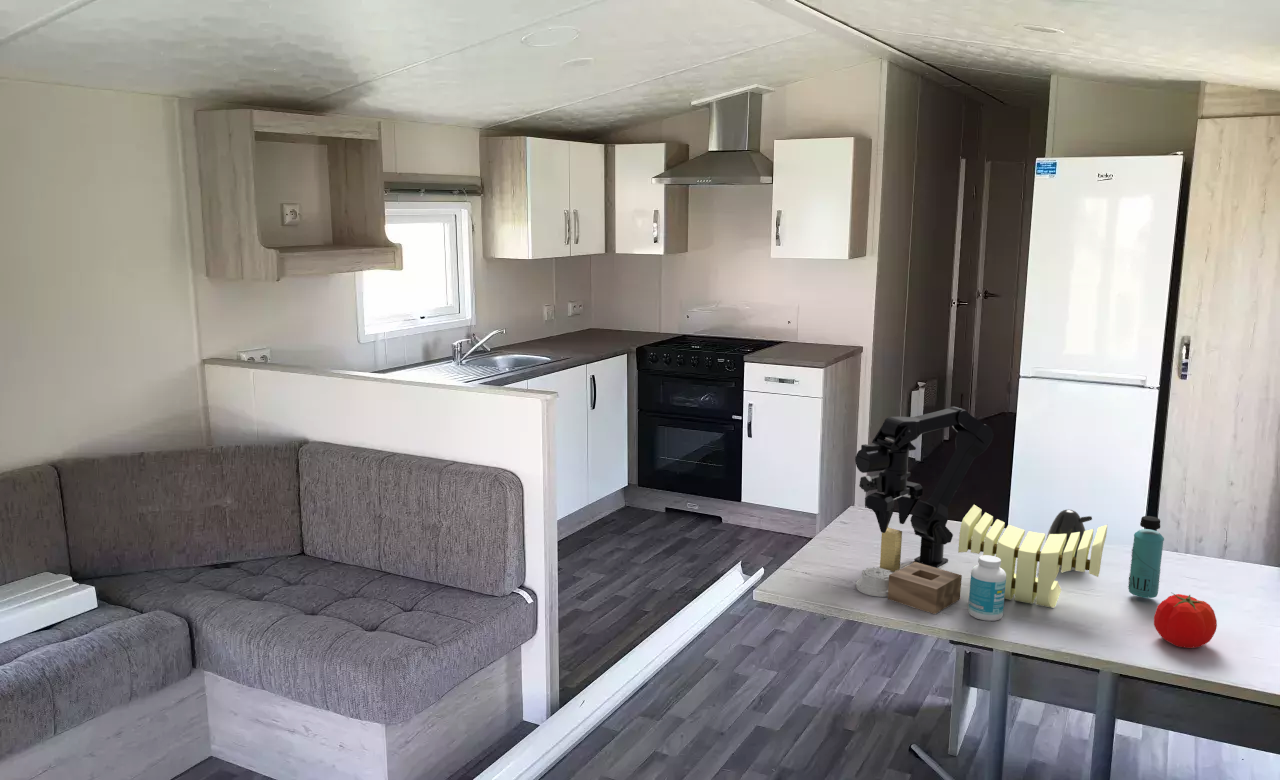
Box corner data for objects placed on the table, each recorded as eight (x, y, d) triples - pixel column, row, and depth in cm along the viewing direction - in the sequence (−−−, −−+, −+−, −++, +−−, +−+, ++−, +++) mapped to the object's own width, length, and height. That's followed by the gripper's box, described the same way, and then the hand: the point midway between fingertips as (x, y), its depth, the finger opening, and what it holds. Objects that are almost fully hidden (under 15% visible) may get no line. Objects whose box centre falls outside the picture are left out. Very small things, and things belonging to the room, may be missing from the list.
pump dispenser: (1084, 577, 240) (1089, 518, 237) (1039, 569, 246) (1044, 511, 243) (1089, 564, 249) (1095, 508, 246) (1046, 557, 254) (1051, 501, 251)
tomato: (1146, 628, 211) (1151, 583, 209) (1205, 634, 208) (1211, 589, 206) (1158, 651, 200) (1163, 604, 198) (1220, 659, 197) (1227, 611, 195)
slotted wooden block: (913, 585, 234) (915, 561, 233) (960, 599, 226) (961, 575, 225) (887, 599, 226) (889, 574, 225) (935, 614, 218) (936, 589, 217)
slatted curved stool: (955, 593, 229) (960, 522, 226) (969, 572, 243) (974, 504, 240) (1093, 620, 215) (1101, 544, 212) (1100, 596, 228) (1107, 524, 225)
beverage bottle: (1155, 595, 229) (1164, 514, 225) (1160, 606, 223) (1169, 523, 219) (1124, 591, 231) (1133, 511, 227) (1128, 602, 225) (1137, 520, 221)
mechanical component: (856, 596, 228) (899, 599, 226) (857, 578, 228) (901, 581, 226) (855, 580, 238) (897, 583, 236) (856, 563, 237) (898, 566, 235)
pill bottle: (998, 625, 212) (1003, 566, 210) (964, 617, 216) (968, 560, 214) (1006, 613, 219) (1010, 556, 216) (972, 606, 222) (976, 550, 220)
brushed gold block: (885, 564, 248) (888, 527, 246) (899, 568, 245) (902, 531, 243) (879, 567, 246) (881, 530, 244) (893, 571, 243) (896, 533, 241)
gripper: (885, 455, 252) (883, 512, 255) (847, 469, 239) (844, 529, 242) (925, 463, 245) (921, 522, 248) (887, 478, 232) (884, 540, 235)
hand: (892, 528), depth 243 cm, fingers open, 9 cm apart
